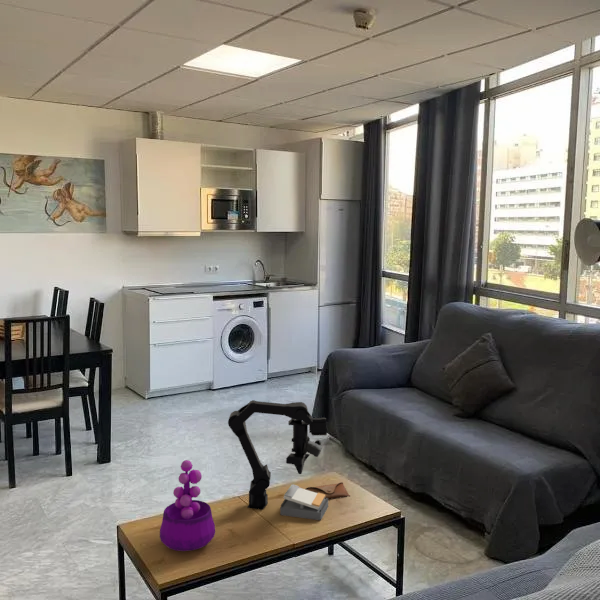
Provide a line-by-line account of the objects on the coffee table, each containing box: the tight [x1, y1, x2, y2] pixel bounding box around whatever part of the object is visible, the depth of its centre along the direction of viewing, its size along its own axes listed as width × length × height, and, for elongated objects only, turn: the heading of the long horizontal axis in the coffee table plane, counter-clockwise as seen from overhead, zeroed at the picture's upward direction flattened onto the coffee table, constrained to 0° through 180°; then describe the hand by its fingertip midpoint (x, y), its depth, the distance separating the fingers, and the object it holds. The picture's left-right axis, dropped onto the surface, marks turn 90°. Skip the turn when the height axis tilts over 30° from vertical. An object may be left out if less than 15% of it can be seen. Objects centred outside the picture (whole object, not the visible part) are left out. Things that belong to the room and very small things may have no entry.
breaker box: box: [279, 498, 329, 521], centre depth 234 cm, size 16×12×4 cm
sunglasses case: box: [305, 481, 351, 501], centre depth 249 cm, size 18×7×7 cm
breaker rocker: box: [283, 483, 325, 510], centre depth 234 cm, size 14×11×2 cm
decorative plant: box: [159, 459, 216, 552], centre depth 207 cm, size 19×18×30 cm
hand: (300, 473), depth 238 cm, fingers closed
